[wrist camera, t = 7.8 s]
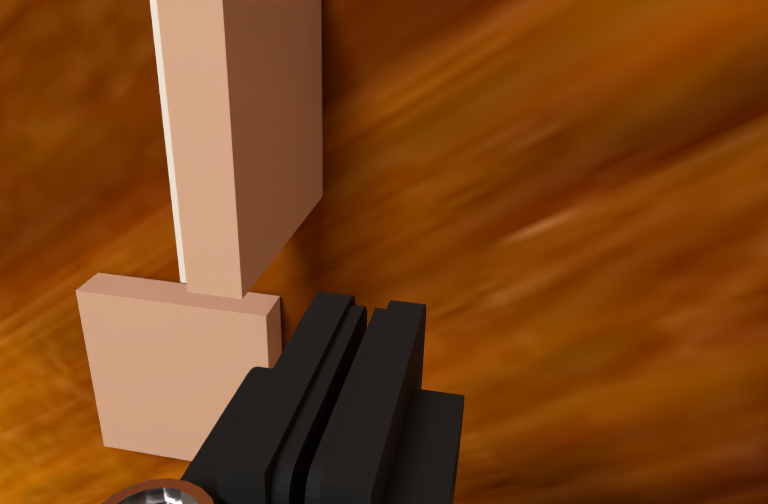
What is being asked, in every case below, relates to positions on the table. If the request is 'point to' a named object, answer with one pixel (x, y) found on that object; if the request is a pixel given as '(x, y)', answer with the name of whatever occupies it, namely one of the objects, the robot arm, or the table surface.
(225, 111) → the tile
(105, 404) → the tile
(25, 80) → the table surface
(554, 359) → the table surface
